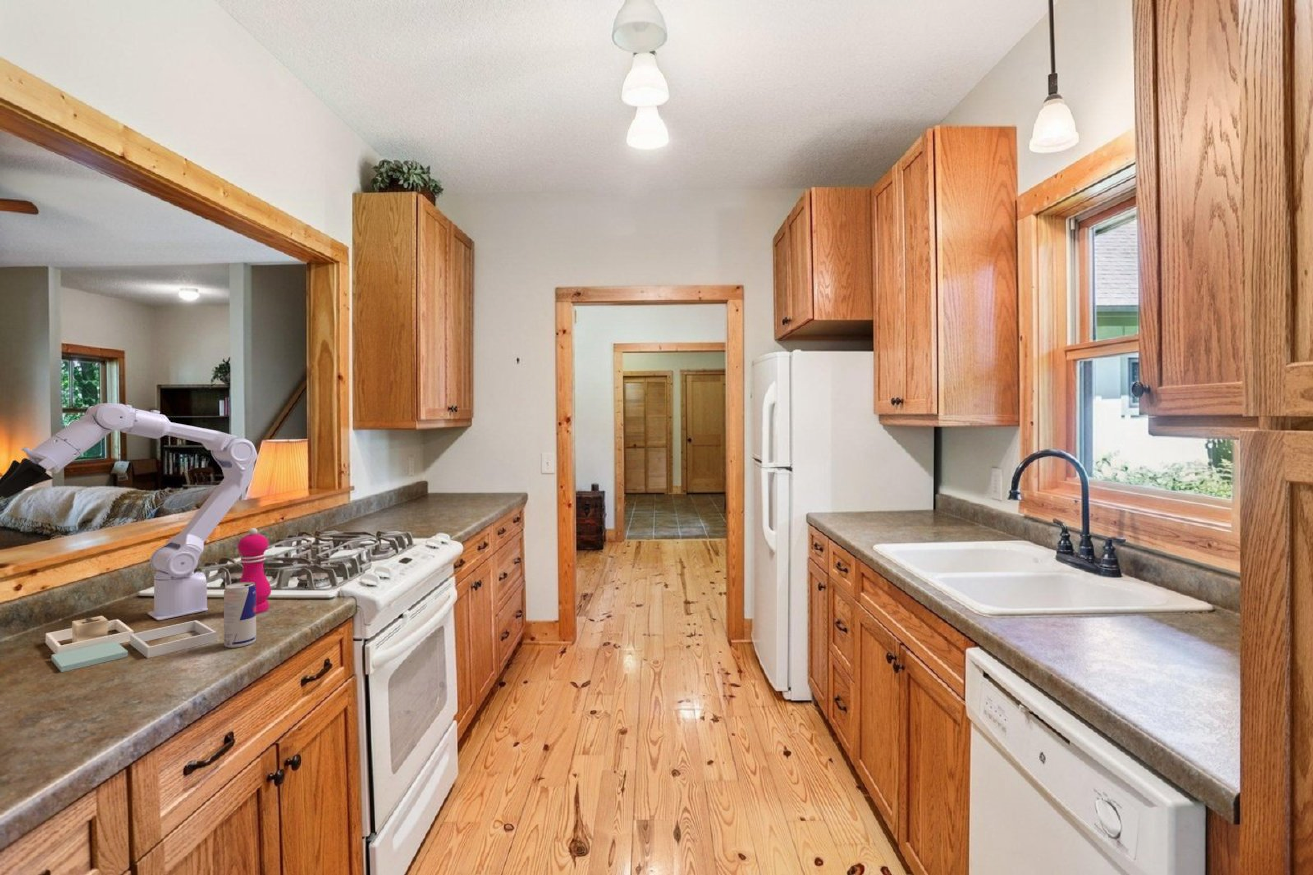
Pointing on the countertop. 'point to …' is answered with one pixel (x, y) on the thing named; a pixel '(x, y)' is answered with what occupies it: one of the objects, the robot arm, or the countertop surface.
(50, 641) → the white tray
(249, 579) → the pepper mill
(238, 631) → the energy drink
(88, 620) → the letter cube
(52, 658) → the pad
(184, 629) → the white rectangular frame
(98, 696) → the countertop surface
